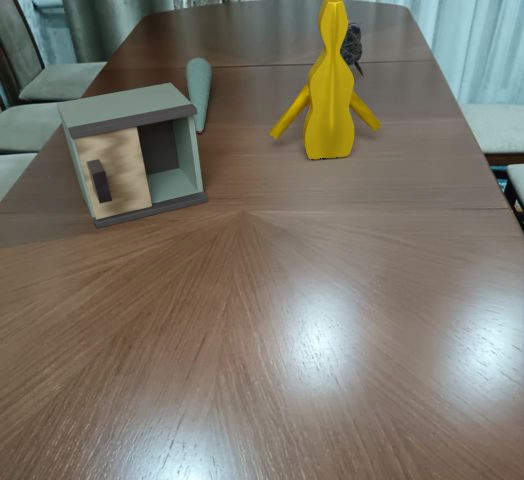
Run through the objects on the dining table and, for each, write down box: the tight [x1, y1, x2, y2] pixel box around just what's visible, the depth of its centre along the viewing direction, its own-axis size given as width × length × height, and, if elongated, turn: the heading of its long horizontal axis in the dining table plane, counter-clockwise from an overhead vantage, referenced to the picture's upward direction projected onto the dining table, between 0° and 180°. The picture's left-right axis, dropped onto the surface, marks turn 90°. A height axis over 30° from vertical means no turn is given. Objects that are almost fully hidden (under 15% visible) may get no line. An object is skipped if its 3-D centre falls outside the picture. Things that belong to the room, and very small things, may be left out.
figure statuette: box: [268, 0, 382, 160], centre depth 84 cm, size 18×8×22 cm, turn 95°
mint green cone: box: [185, 57, 213, 132], centre depth 108 cm, size 5×6×27 cm
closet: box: [56, 82, 209, 229], centre depth 79 cm, size 16×12×13 cm
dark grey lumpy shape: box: [340, 20, 365, 77], centre depth 108 cm, size 8×11×20 cm
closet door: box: [74, 127, 152, 220], centre depth 73 cm, size 8×5×11 cm, turn 113°
